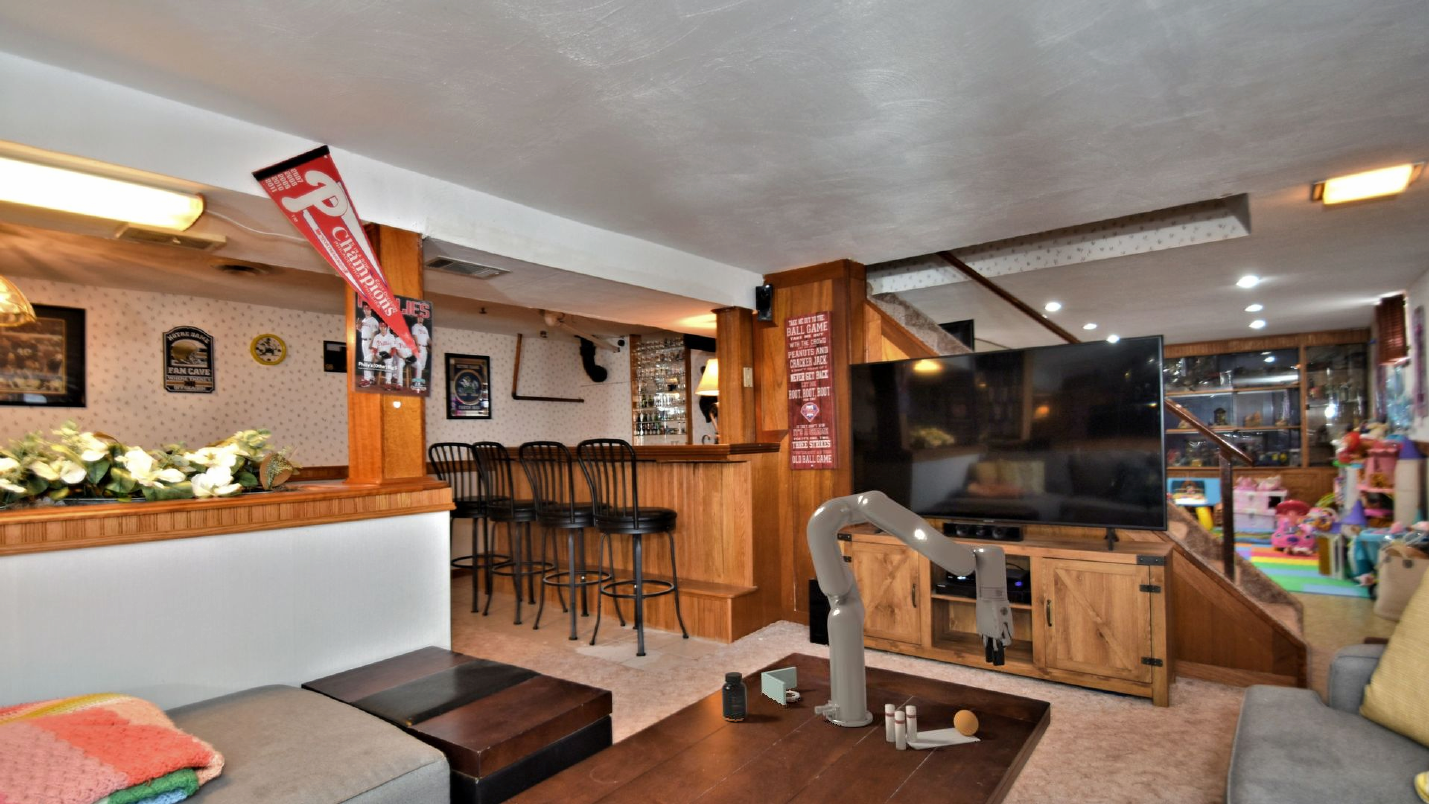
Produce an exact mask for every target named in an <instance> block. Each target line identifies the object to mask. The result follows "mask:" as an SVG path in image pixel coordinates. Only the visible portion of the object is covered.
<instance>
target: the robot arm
mask: <svg viewBox="0 0 1429 804" xmlns="http://www.w3.org/2000/svg"><path fill="white" fill-rule="evenodd" d="M868 522H869V523H870V524H872V525H874V526H875V527H877V528H878V529H881V530H882V531H884V532H885V533H887V534H889V535H890V536H892V537H894V538H895V539H896V540H898V541H899V542H902V543H903V544H905V545H906V546H907V547H909V548H910V549H912V550H914V551H916V552H918V553H919V554H920V555H922V556H924V557H925V558H926V559H928V560H930V561H931V562H933V563H935V564H936V565H937V566H938V567H941V568H943V569H944V570H945V571H948V572H949V573H951V574H952V575H955V576H957V577H966V576H969V575H971V574H973V572H974V571H975V583H976V584H975V585H976V603H975V604H976V605H975V621H976V622H975V623H976V625H975V626H976V630H977V633H978V635H979V636H980V637H981V639H982V641H983V646H984V647H985V648H984V649H985V651H984V652H985V662H986V663H987V664H990V663H992V665H993V667H998V666H1005V663H1006V662H1005V661H1006V660H1005V651H1006V647H1007V646H1010V645H1011V644H1012V641H1011V639H1013V638H1014V635H1015V634H1014V621H1013V615H1012V614H1013V613H1012V609H1011V605H1010V600H1009V599H1008V593H1007V592H1008V590H1007V570H1006V569H1007V566H1006V553H1005V552H1006V551H1005V549H1004V548H1003V546H1001V545H997V544H980V545H974V544H970V543H969V544H968V543H957V542H955V541H954V540H952V539H950V538H949V537H947V536H946V535H944V534H942V533H941V532H940V531H938V530H937V529H936V528H934V527H933V526H932V525H930V523H928V521H926V520H925V519H924V518H923V517H921V516H920V515H918V514H916V513H915V512H913V511H911V510H909V508H906V507H905V506H903V505H901V504H900V503H898V502H896V501H895V500H893V499H892V498H889V496H888V495H887V494H885V493H884V492H882V491H879V490H869V491H865V492H860V493H857V494H852V495H851V494H850V495H846V496H841V497H835V498H832V499H831V498H830V499H829V500H826V501H825V502H824V503H822V504H821V505H820V506H819V507H818V508H817V509H816V510H815V511H814V512H813V513H812V514H811V516H810V518H809V520H808V522H807V527H806V539H807V544H808V548H809V552H810V555H811V559H812V562H813V563H812V564H813V567H814V571H815V574H816V577H817V582H818V586H819V589H820V590H821V592H822V594H824V596H825V597H827V599H828V603H829V606H830V611H829V613H828V616H827V633H828V646H829V647H828V649H829V668H830V669H829V670H830V695H831V696H830V699H828V700H827V703H826V704H825V705H818V706H817V705H816V706H814V713H815V715H817V714H818V715H819V714H823V717H824V716H825V718H826V720H827V719H828V720H829V721H831V722H832V723H831V722H830V723H831V724H833V723H834V724H833V725H836V724H837V725H836V726H840V725H841V726H842V727H847V728H848V727H849V728H850V727H851V728H852V727H853V728H855V727H864V726H867V725H869V724H871V723H872V722H873V720H874V719H873V718H874V717H873V714H872V712H870V711H869V710H867V687H866V686H867V685H866V683H867V682H866V661H865V660H866V659H865V643H864V641H865V640H864V638H865V637H864V624H865V619H866V610H865V605H864V602H863V598H862V596H861V593H860V589H859V585H858V582H857V579H856V576H855V571H854V570H853V568H852V567H851V565H850V564H848V562H846V561H845V559H844V556H843V553H842V549H841V545H840V543H839V540H838V532H839V531H840V530H841V529H843V528H844V527H846V526H847V527H848V526H851V525H857V524H862V523H868ZM828 720H827V721H828ZM829 721H828V722H829ZM841 726H840V727H841Z"/></svg>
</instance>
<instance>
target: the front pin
mask: <svg viewBox="0 0 1429 804" xmlns="http://www.w3.org/2000/svg"><path fill="white" fill-rule="evenodd" d="M905 717H906V718H905V720H906V734H907V741H908V742H910V743H916V742H917V733H918V731H917V730H918V729H917V707H916V706H914V705H906V706H905Z"/></svg>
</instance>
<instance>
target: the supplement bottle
mask: <svg viewBox="0 0 1429 804" xmlns="http://www.w3.org/2000/svg"><path fill="white" fill-rule="evenodd" d="M724 682H725V683H723V685H722V687H721V699H722V700H721V703H722V704H721V705H722V717H723V716H724V717H725V718H729V719H735V720H736V719H741V718H745V717H746V716H747V717H748V705H747V704H748V703H747V686H746V684H745V683H743V673H741V672H737V671H731V672H727V673H725V675H724Z"/></svg>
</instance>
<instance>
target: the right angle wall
mask: <svg viewBox="0 0 1429 804" xmlns="http://www.w3.org/2000/svg"><path fill="white" fill-rule="evenodd" d="M797 681H798V679H797V667H796V666H791V667H785V668H781V669H775V670H771V671H770V670H769V671H765V672H764V671H763V672H761V694H762V693H764V694H765V695H767V696H768V697H769V698H772V699H773V700H776V701H777V702H778V703H781V704H782V705H786V706H787V703H786V700H795V699H796V698H799V697H800V698H801V695H800V692H797V691H791V690H789V691H786V689H791V688H795V687H797V686H798V685H797ZM787 693H790V694H792V695H795V696H792V697H786V694H787Z"/></svg>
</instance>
